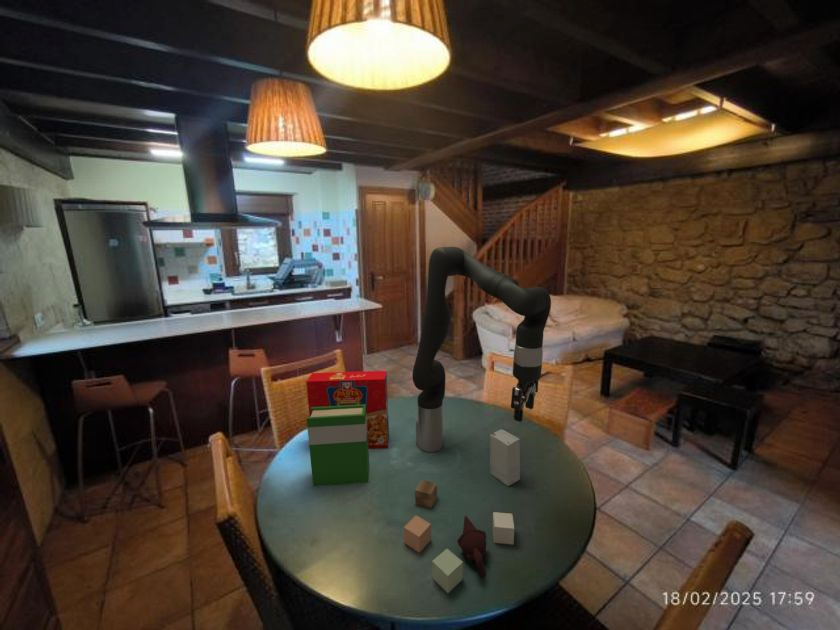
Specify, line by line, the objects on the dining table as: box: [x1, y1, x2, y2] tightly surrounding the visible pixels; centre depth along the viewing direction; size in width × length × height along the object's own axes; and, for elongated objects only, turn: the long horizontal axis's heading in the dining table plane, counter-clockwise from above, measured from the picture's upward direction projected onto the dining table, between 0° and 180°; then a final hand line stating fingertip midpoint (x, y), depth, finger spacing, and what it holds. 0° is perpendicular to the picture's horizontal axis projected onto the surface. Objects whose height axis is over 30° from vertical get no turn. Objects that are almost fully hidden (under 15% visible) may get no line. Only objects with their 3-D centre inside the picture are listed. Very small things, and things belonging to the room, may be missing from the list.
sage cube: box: [431, 548, 464, 594], centre depth 84 cm, size 5×5×5 cm
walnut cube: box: [414, 479, 438, 510], centre depth 108 cm, size 5×5×5 cm
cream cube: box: [492, 511, 515, 545], centre depth 95 cm, size 5×5×5 cm
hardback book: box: [306, 404, 370, 487], centre depth 117 cm, size 18×7×24 cm, turn 95°
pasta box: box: [305, 370, 390, 450], centre depth 136 cm, size 28×8×28 cm, turn 92°
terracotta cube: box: [403, 515, 432, 554], centre depth 94 cm, size 5×5×5 cm
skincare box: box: [489, 428, 521, 487], centre depth 117 cm, size 8×6×15 cm
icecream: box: [457, 515, 487, 577], centre depth 91 cm, size 7×7×15 cm
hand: (523, 414), depth 102 cm, fingers open, 8 cm apart
